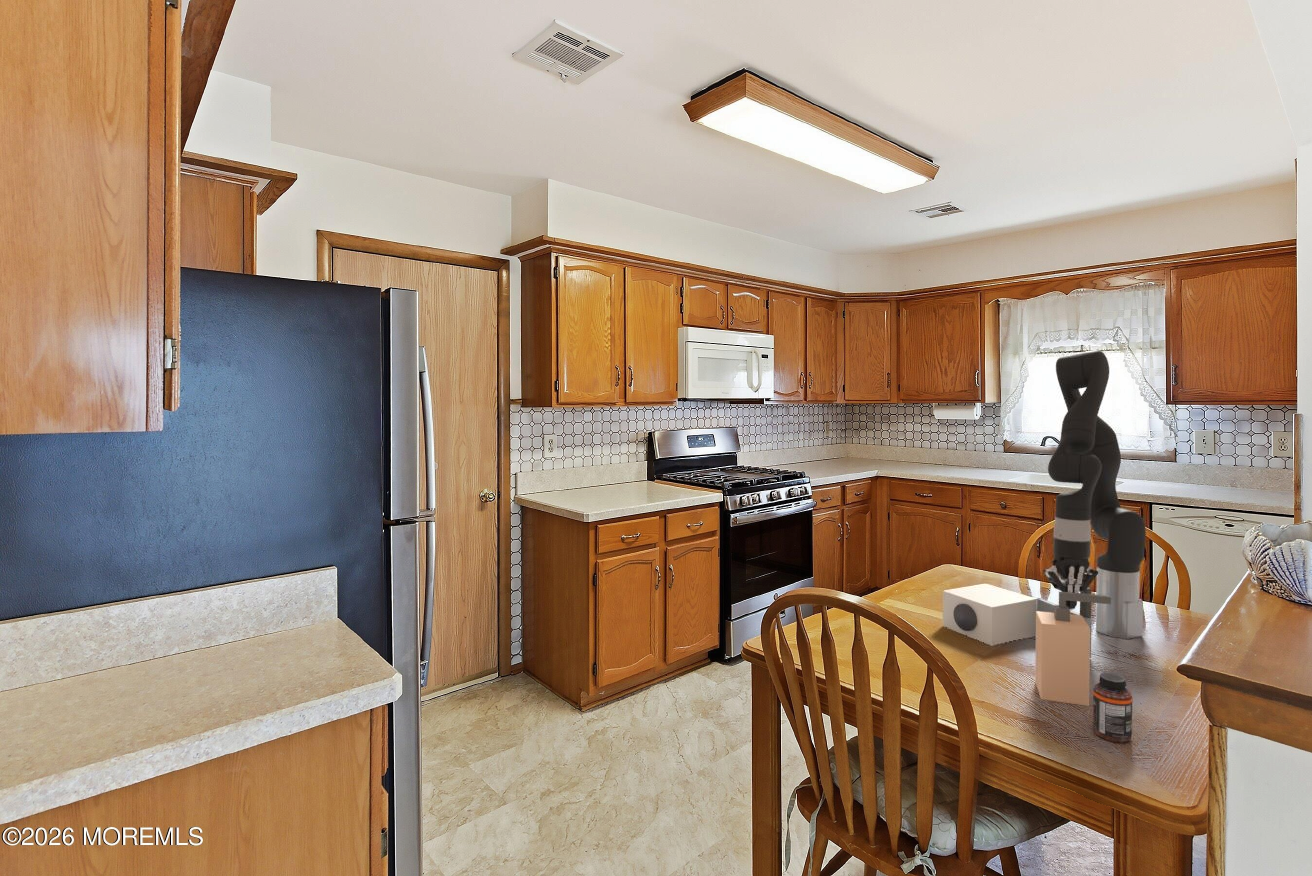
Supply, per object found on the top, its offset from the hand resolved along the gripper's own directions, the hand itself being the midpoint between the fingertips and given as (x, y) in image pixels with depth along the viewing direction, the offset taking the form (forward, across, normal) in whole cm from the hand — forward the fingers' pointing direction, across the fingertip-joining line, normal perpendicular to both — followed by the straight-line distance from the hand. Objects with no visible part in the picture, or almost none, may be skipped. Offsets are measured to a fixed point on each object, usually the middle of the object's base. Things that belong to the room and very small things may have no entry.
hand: (1069, 607), depth 156 cm
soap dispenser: (+13, -13, -18) cm, 26 cm away
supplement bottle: (+13, -18, -34) cm, 41 cm away
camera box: (+12, -8, +20) cm, 24 cm away
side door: (+12, +4, +7) cm, 14 cm away
